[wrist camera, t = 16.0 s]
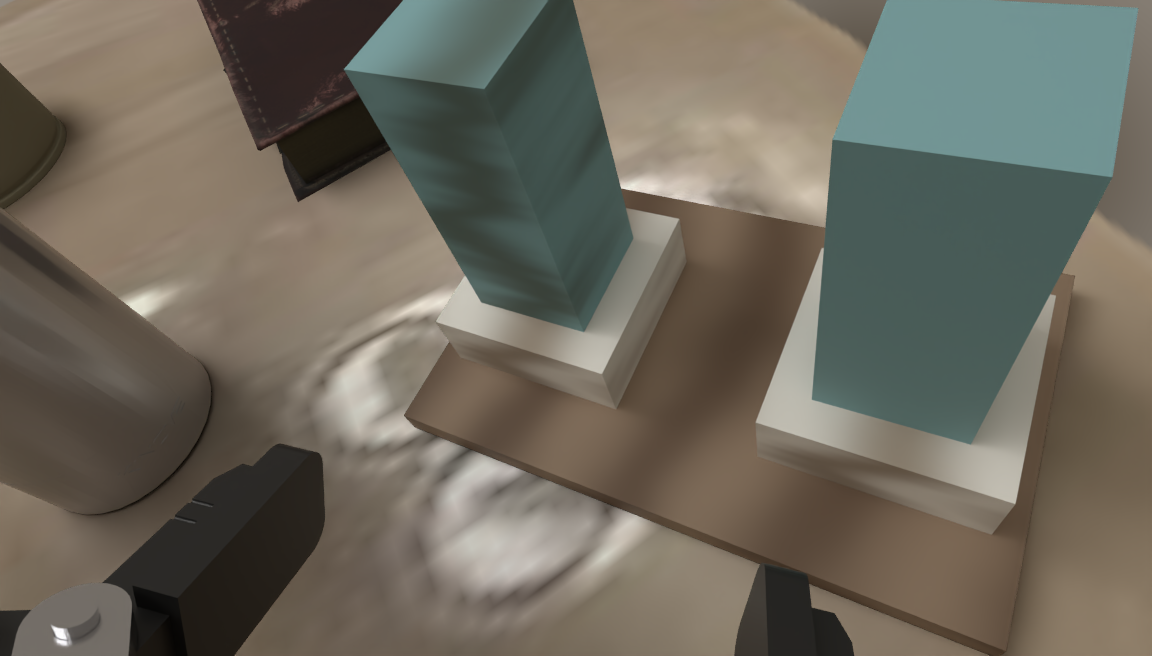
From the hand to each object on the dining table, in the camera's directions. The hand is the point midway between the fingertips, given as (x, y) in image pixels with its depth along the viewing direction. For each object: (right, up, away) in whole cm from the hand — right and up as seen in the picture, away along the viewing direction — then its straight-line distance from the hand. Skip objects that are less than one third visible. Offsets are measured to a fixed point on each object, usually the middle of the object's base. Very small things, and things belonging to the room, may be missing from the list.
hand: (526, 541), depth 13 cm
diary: (-15, +24, +40) cm, 49 cm away
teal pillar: (+12, +3, +12) cm, 17 cm away
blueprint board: (+7, +2, +18) cm, 20 cm away
